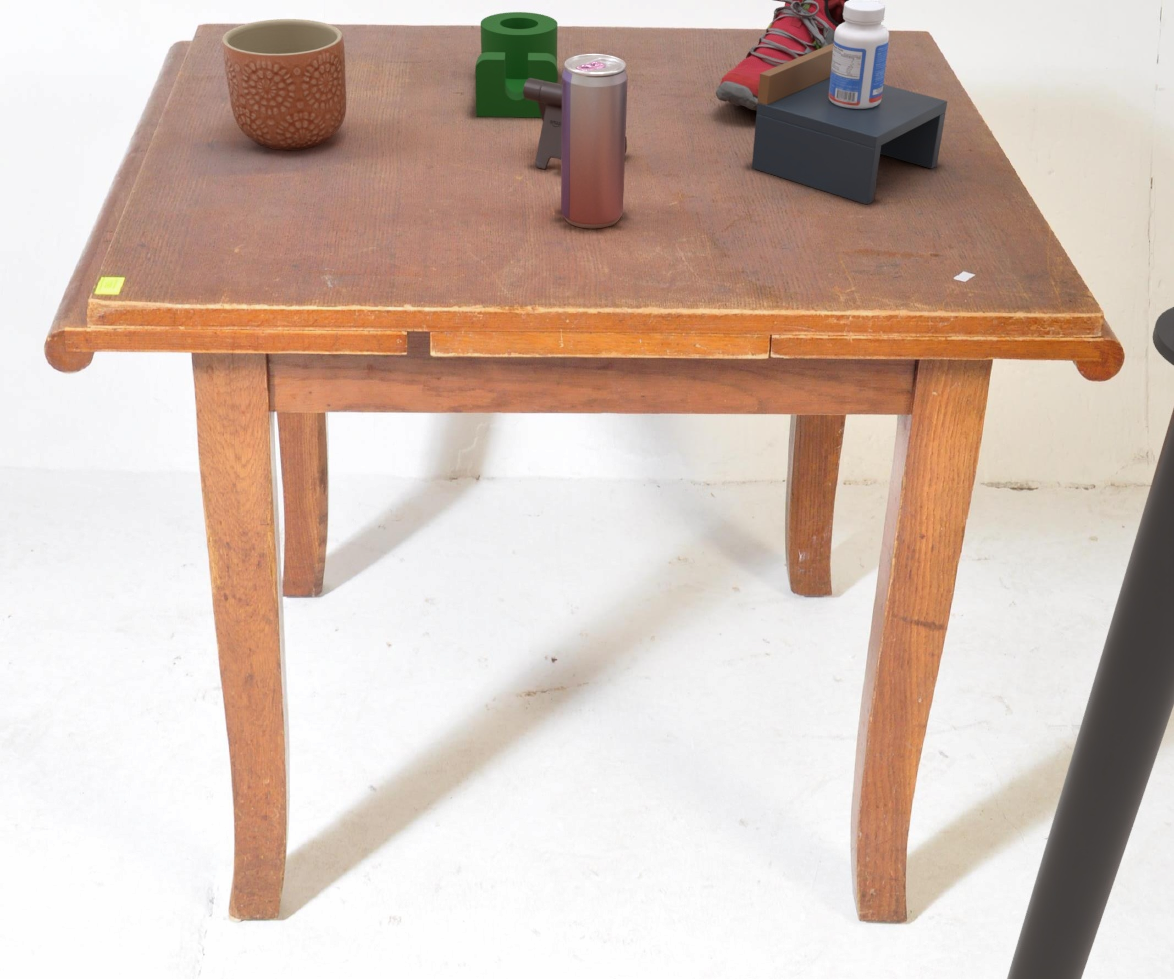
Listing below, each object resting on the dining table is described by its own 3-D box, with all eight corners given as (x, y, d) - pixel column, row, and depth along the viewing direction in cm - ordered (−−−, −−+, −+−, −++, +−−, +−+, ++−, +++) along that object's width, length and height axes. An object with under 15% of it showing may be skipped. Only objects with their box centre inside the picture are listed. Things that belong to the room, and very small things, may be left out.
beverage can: (548, 216, 138) (548, 61, 130) (593, 200, 142) (597, 49, 133) (589, 236, 135) (593, 78, 126) (635, 219, 138) (641, 65, 130)
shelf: (937, 166, 151) (952, 72, 145) (867, 205, 142) (880, 106, 137) (824, 133, 158) (835, 42, 153) (751, 168, 150) (759, 73, 144)
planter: (318, 110, 161) (309, 12, 155) (371, 144, 153) (364, 42, 147) (214, 132, 155) (201, 30, 149) (264, 169, 147) (252, 62, 141)
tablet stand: (628, 156, 152) (631, 78, 147) (591, 181, 146) (593, 100, 141) (556, 140, 155) (556, 63, 150) (517, 163, 149) (517, 84, 145)
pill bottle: (868, 91, 149) (880, -5, 144) (889, 108, 145) (903, 10, 139) (818, 94, 148) (829, -2, 143) (838, 112, 144) (850, 13, 138)
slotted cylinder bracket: (483, 65, 175) (482, 11, 172) (557, 66, 176) (557, 13, 172) (476, 116, 161) (474, 59, 157) (556, 117, 161) (557, 60, 157)
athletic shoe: (675, 104, 165) (681, -2, 158) (827, 63, 178) (838, -36, 172) (750, 135, 157) (759, 26, 151) (903, 91, 170) (918, -12, 164)
